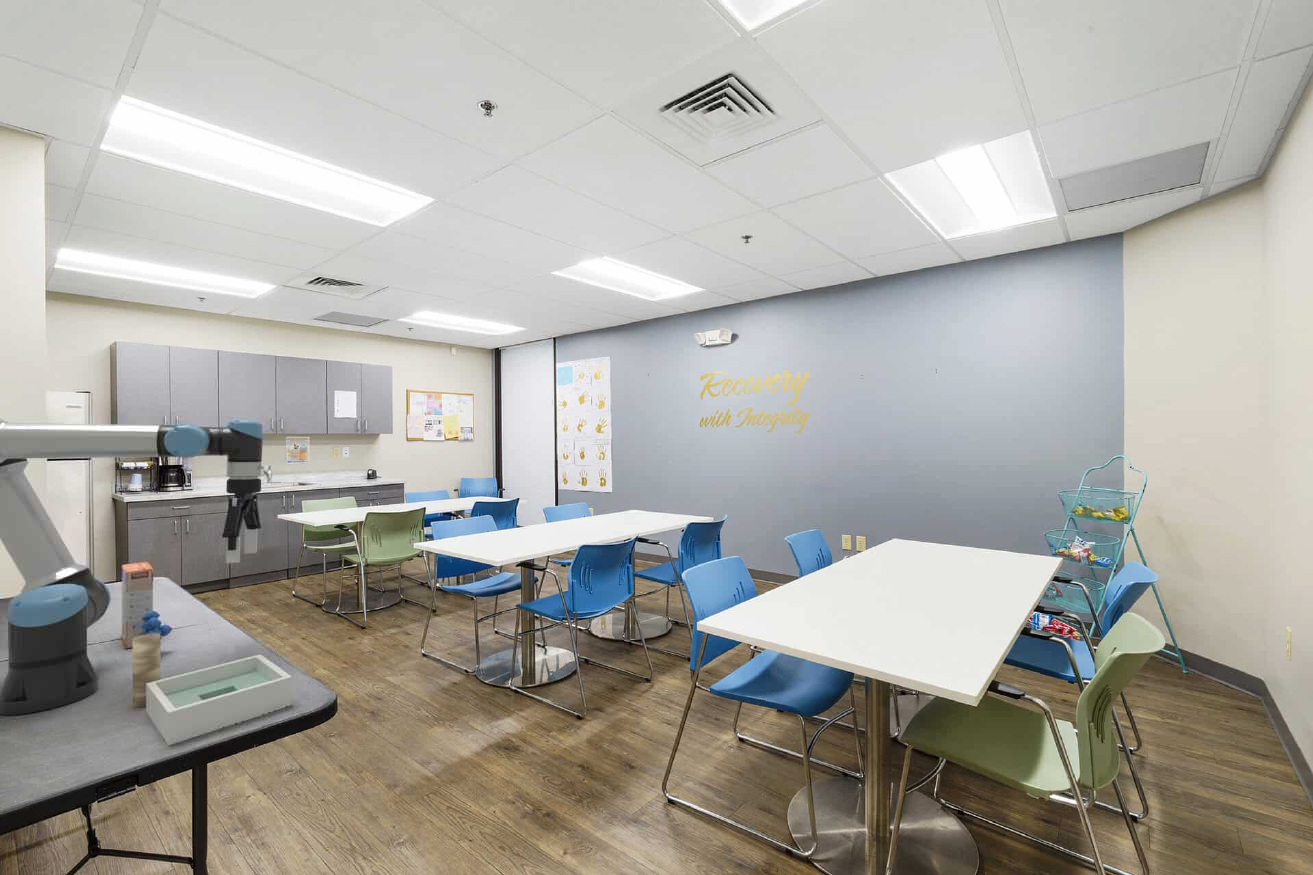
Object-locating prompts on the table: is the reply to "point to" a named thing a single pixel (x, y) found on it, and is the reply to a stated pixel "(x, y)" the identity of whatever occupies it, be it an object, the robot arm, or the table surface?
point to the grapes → (154, 625)
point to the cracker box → (135, 599)
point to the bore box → (216, 697)
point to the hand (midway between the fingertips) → (242, 557)
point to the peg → (145, 665)
